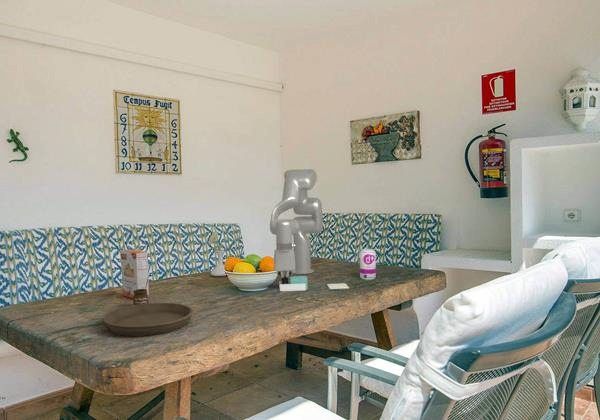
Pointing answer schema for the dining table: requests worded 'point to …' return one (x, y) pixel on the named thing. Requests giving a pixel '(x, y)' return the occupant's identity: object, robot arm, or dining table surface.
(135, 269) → the cracker box
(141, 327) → the plant saucer
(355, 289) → the dining table surface
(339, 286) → the tile
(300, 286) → the channel
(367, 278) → the supplement can
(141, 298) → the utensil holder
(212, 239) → the flower in vase
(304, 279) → the teal block
